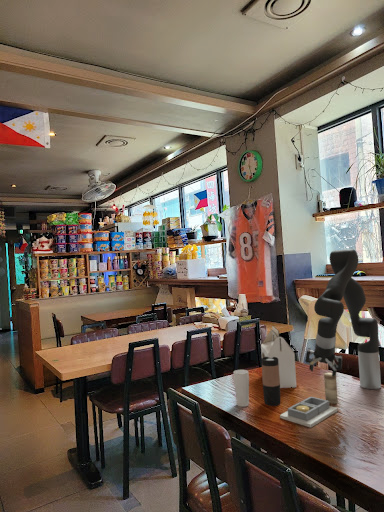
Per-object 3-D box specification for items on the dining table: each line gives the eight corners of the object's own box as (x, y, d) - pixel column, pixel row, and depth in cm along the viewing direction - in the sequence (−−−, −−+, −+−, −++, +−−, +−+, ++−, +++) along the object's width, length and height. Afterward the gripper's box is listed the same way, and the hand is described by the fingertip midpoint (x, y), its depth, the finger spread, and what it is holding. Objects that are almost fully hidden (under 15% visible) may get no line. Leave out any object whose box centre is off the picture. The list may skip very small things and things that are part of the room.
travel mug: (271, 407, 169) (268, 361, 169) (260, 402, 176) (257, 358, 176) (284, 403, 173) (282, 358, 173) (273, 398, 179) (271, 355, 180)
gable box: (262, 375, 215) (259, 325, 216) (286, 374, 215) (283, 324, 215) (270, 389, 193) (266, 332, 193) (296, 387, 193) (293, 331, 193)
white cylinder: (234, 403, 177) (232, 370, 177) (248, 401, 178) (246, 369, 178) (237, 408, 170) (234, 374, 170) (252, 407, 171) (250, 373, 171)
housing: (307, 403, 172) (307, 393, 172) (337, 410, 161) (337, 401, 161) (280, 417, 158) (279, 408, 158) (310, 427, 147) (310, 417, 147)
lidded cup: (326, 399, 175) (324, 372, 175) (338, 400, 173) (336, 373, 173) (325, 403, 171) (323, 375, 171) (337, 404, 169) (335, 376, 169)
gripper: (345, 340, 156) (341, 371, 163) (309, 332, 162) (306, 362, 169) (343, 352, 150) (339, 383, 157) (305, 343, 156) (303, 374, 163)
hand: (322, 372), depth 163 cm, fingers open, 8 cm apart
